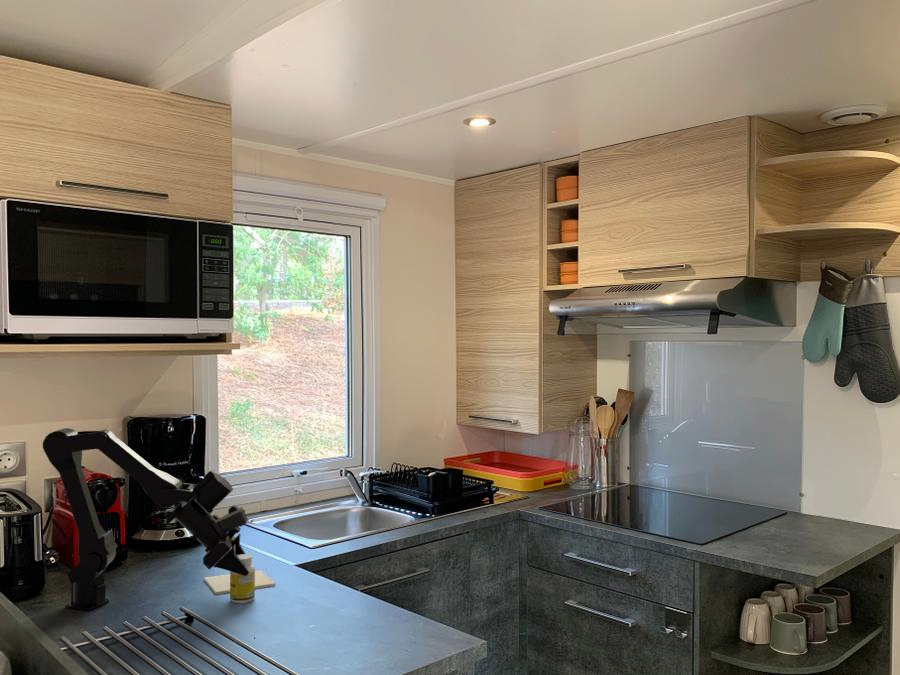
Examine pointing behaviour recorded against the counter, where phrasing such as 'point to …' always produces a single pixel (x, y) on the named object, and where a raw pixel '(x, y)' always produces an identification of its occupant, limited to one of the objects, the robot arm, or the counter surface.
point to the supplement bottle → (243, 582)
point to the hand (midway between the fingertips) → (249, 570)
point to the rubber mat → (223, 582)
